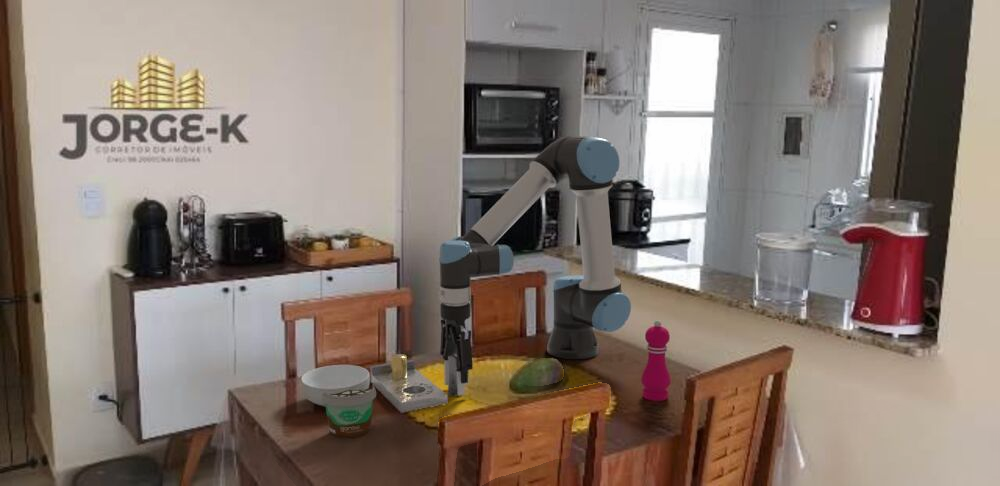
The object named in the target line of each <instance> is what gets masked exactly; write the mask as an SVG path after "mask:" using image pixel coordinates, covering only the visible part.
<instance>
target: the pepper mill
mask: <svg viewBox="0 0 1000 486" xmlns="http://www.w3.org/2000/svg"><path fill="white" fill-rule="evenodd" d="M653 324H654V325H653V326H651V327H649V328H647V330H646V331H645V337H644V338H645V341H646V343H647V344H646V347H647V348H646V351H647V352H648V358H647V362H646V365H645V368H644V369H643V372H642V375H641V379H640V380H641V384H642V386H643V387H644V388H643V389H642V397H643V398H644V399H645V400H648V401H652V402H663V401H666V400H667V399H668V398H669V390H668V388H669V386H670V385H671V375H670V371H669V369H668V367H667V363H666V353H667V352H668V345H667V344H668V343H669V342H670V340H671V339H670V338H671V337H670V335H671V334H670V332H669V330H668V329H667V328H665V326H662V321H660V320H657V319H656V320H655V321H654V323H653Z"/></svg>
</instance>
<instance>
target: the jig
mask: <svg viewBox="0 0 1000 486" xmlns="http://www.w3.org/2000/svg"><path fill="white" fill-rule="evenodd" d="M407 357H408V356H407V355H406V354H401V353H400V354H399V353H396V354H392V355H391V358H390V359H391V362H388V363H382V364H381V363H380V364H375V365H370V368H369V369H370V372H369V375H370V384H371V385H372V386H373V385H374V387H375V389H377V390H378V391H379V392H380V394H382V395H383V396H384V398H386V399H387V400H388V401H389V402H390V403H391V404H392V406H394V407H395V408H396V409H397V410H398V412H400V413H401V414H402V413H409V411H410V412H413V411H412V410H415V411H418V410H417V409H420V408H426V407H431V406H436V405H442V406H444V405H443V404H448V402H449V401H448V393H446V392H445V391H444V390H443V389H441V388H440V387H439V386H438V385H436V384H435V383H433V382H432V381H431V380H430V379H429V378H428V377H426V376H425V375H424V374H422V373H421V372H420V371H419V370H417V369H416V361H415V360H414V359H407ZM431 408H432V407H431ZM426 409H427V408H426ZM420 410H421V409H420Z"/></svg>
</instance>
